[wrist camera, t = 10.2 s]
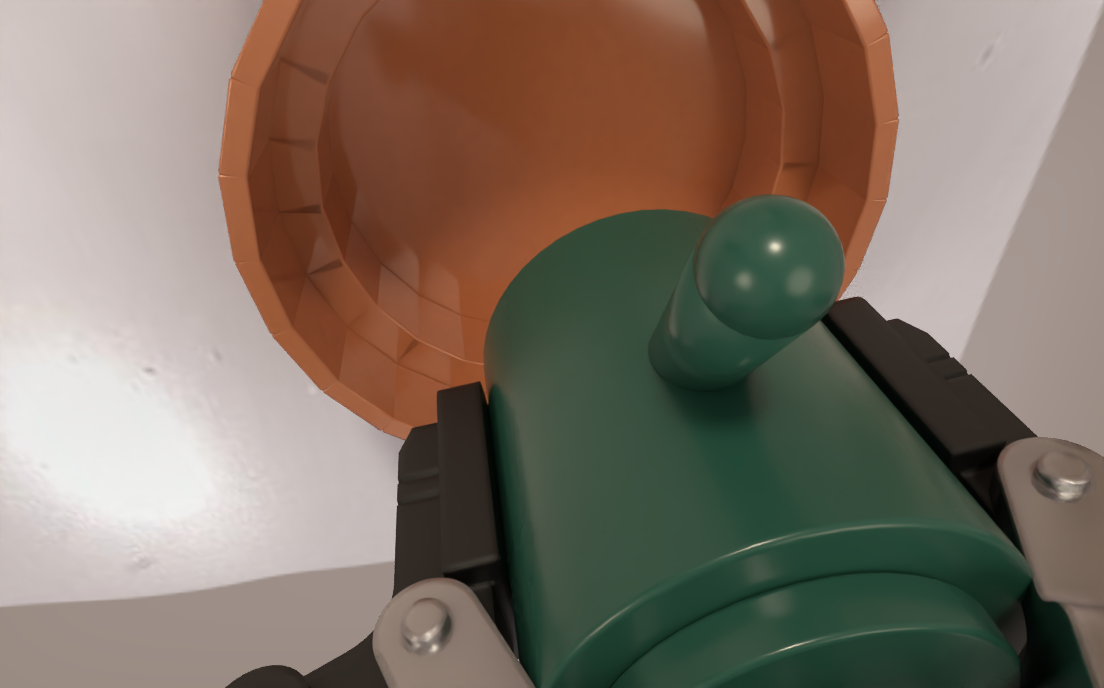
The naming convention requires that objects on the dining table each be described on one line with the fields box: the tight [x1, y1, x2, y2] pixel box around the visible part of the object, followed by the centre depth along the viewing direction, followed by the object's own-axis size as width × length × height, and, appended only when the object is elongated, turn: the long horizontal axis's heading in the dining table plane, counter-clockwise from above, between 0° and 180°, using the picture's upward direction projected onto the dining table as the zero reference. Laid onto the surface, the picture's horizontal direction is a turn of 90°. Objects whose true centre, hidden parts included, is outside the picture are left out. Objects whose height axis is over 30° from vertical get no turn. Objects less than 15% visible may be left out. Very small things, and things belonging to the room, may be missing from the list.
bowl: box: [218, 0, 899, 440], centre depth 19 cm, size 16×16×6 cm
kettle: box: [483, 194, 1034, 688], centre depth 9 cm, size 10×6×8 cm, turn 9°
